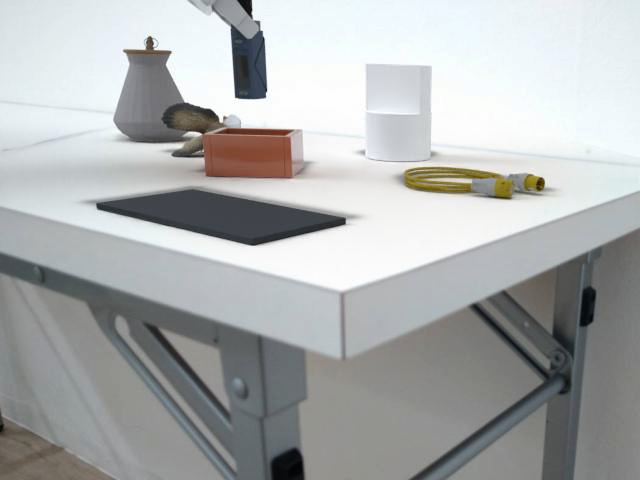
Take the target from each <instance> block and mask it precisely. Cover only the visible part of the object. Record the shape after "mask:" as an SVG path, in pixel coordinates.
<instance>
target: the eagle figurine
mask: <svg viewBox="0 0 640 480" xmlns="http://www.w3.org/2000/svg"><path fill="white" fill-rule="evenodd" d="M161 120H162V121H163V123H164V124H166V125H167V126H166V127H167V128H170V129H175V130H182V131H187V132H188V133H199V134H200V135H198V136H196V137H193V138H191V139H189V140H187V142H185V143H184V144H183V145H182V147H181V148H179V149H176V150H174V151H173V152H172V153H171V154H170V156H172V157H180V156H181V157H184V156H191V155H192V154H196V153H198V152H204V149H203V138H202V135H203V134H205V133H208V132H211V131H214V130H216V129H219V128H222V127H228V128H242V121H241V118H240V117H239V116H237V115H236V114H229V115H228V116H226V115H223V116H222V122H221V120H220V117H219V115H218V114H217V113H216V112H215V111H214V110H212V109H211V108H210V107H209V108H207V107H201V106H200V105H194V104H192V103H189V102H185V101H184V102H183V103H179V104H178V103H177V104H175V105H172V106H169V107H168V109H166V110H165V112H164V113H163V116H162V118H161Z"/></svg>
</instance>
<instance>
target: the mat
mask: <svg viewBox="0 0 640 480" xmlns="http://www.w3.org/2000/svg"><path fill="white" fill-rule="evenodd" d="M95 204H96V205H95V206H96V208H97V210H101V211H107V212H110V213H115V214H118V215H123V216H127V217H132V218H136V219H140V220H144V221H149V222H152V223H157V224H161V225H166V226H170V227H174V228H179V229H183V230H187V231H191V232H195V233H199V234H203V235H208V236H212V237H216V238H220V239H224V240H229V241H233V242H237V243H241V244H245V245H251V246H256V245H259V244H264V243H268V242H271V241H272V242H273V241H277V240H280V239H281V240H282V239H285V238H289V237H290V238H291V237H294V236H298V235H303V234H306V233H307V234H308V233H311V232H315V231H319V230H324V229H328V228H332V227H338V226H342V225H346V223H347V218H346V217H343V216H338V215H333V214H328V213H322V212H317V211H312V210H307V209H301V208H296V207H291V206H285V205H280V204H275V203H270V202H269V203H268V202H264V201H258V200H254V199H248V198H243V197H237V196H232V195H228V194H226V195H225V194H221V193H216V192H211V191H205V190H199V189H194V188H190V189H183V190H176V191H170V192H162V193H155V194H149V195H142V196H141V195H140V196H135V197H128V198H120V199H114V200H108V201H107V200H106V201H101V202H96V203H95Z"/></svg>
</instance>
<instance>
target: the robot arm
mask: <svg viewBox="0 0 640 480" xmlns="http://www.w3.org/2000/svg"><path fill="white" fill-rule="evenodd" d="M186 1H187V2H188V3H190V4H191V5H192V6H193V7H195V9H198V11H200V12H201V13H203V14H204V15H205V16H208V17H209V16H212V15H213V13H215V15H216V16H217V17H218V18H219V19H220V20H221V21H223V22H224V23H225V24H226V25H228V27H229V28H231V24H232V25H233V26H235V27H236V29H237V30H238V31H239V32H240V33H241V34H242V35H243V36H244V37H245V38H247V39H251V38H252V37H253V36H254V35H255V34H256V33H257V32H258V31H259V26H258V25H257V24H256V23H255V22H254V21H253V20H254V19H253V20H252V19H251V17H250V16H249V15H248V14H247V13H246V12H245V10H244V9H243V8H242V6H241V5H240V4H239V3H238V1H237V0H186Z"/></svg>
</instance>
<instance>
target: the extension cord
mask: <svg viewBox="0 0 640 480" xmlns="http://www.w3.org/2000/svg"><path fill="white" fill-rule="evenodd" d="M403 175H404V181H405V186H406V187H408V188H412V189H415V190H421V191H427V192H436V193H446V194H447V193H449V194H450V193H451V194H464V193H465V194H466V193H467V194H468V193H479V194H481V195H486V196H488V197H497V198H499V197H500V198H507V199H508V198H509V199H511V198H513V195H514V190H515V188H517V189H519V190H520V191H524V192H525V191H526V192H531V191H533V192H538V193H541V192H543V191H545V186H546V180H545V178H544V177H543V176H537V175H534V174H532V173H528V172H521V173H510V174H508V175H507V179H504V176H503V175H502V174H500V173H496V172H493V171H486V170H479V169H472V168H463V167H453V166H452V167H450V166H420V167H412V168H407V169H406V170H405V171H404V172H403ZM415 175H418V176H415ZM412 176H413V177H412ZM432 178H433V179H434V178H435V179H437V178H455V179H457V178H459V179H461V178H462V179H472V180H471V182H457V181H445V180H430V179H432Z"/></svg>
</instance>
